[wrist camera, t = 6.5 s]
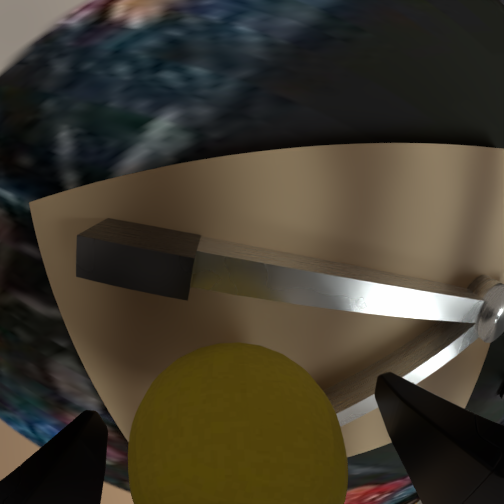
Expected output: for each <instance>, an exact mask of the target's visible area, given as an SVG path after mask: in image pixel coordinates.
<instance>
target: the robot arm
mask: <svg viewBox="0 0 504 504" xmlns="http://www.w3.org/2000/svg"><path fill="white" fill-rule="evenodd" d="M500 397H501V398H502V399H503V398H504V387H503V389H502V391H501V393H500ZM375 399H376V402H377V405H378V408H379V410H380V413H381V416H382V418H383V421H384V424H385V427H386V430H387V432H388V435H389V437H390V439H391V441H392V443H393V445H394V447H395V449H396V451H397V453H398V455H399V457H400V459H401V461H402V463H403V465H404V467H405V469H406V471H407V473H408V475H409V477H410V479H411V481H412V483H413V485H414V488H415V490H416V492H417V494H418V496H419V498H420V500H421V502H422V504H504V426H503V425H500V424H498V423H495V422H493V421H490V420H488V419H486V418H483V417H481V416H479V415H477V414H475V415H474V413H473V412H470V411H468V410H466V409H464V408H462V407H460V406H458V405H456V404H454V403H452V402H450V401H448V400H446V399H444V398H441V397H439V396H437V395H435V394H433V393H431V392H429V391H427V390H425V389H423V388H421V387H420V386H418V385H416V384H414V383H412V382H410V381H408V380H406V379H404V378H402V377H400V376H398V375H396V374H394V373H392V372H386V373H383V374H380V375H378V377H377V381H376V387H375ZM107 438H108V429H107V426H106V425H105V423H104V422H103V420H102V418H101V417H100V415H99V414H98V412H96V411H92V410H85V411H84V412H82V413H81V414H80V415H79V416H78V417H77V418H75V419H74V420H73V421H72V422H71V423H70V424H68V425H67V426H66V427H65V428H64V429H62V430H61V431H60V432H59V433H58V434H57V435H55V436H54V437H53V438H52V439H51V440H50V441H48V442H47V443H46V444H45V445H44V446H42V447H41V448H40V449H39V450H38V451H37V452H35V453H34V454H33V455H32V456H31V457H30V458H28V459H27V460H26V461H25V462H23V463H22V465H21V466H19V467H18V468H16V469H15V470H14V471H13V472H11V473H10V474H9V475H8V476H6V477H5V478H4V479H2V480H1V481H0V504H100V501H101V495H102V488H103V481H104V475H105V467H106V452H107Z"/></svg>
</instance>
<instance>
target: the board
mask: <svg viewBox="0 0 504 504" xmlns="http://www.w3.org/2000/svg"><path fill="white" fill-rule="evenodd" d="M29 205H30V210H31V215H32V220H33V224H34V229H35V233H36V237H37V241H38V245H39V248H40V252H41V256H42V259H43V263H44V266H45V269H46V272H47V276H48V279H49V282H50V285H51V288H52V291H53V294H54V296H55V299H56V302H57V305H58V307H59V310H60V313H61V315H62V318H63V320H64V323H65V325H66V328H67V330H68V332H69V335H70V337H71V339H72V341H73V344H74V346H75V348H76V350H77V352H78V355H79V357H80V359H81V361H82V363H83V365H84V367H85V369H86V371H87V373H88V375H89V377H90V379H91V381H92V383H93V384H94V386H95V388H96V390H97V392H98V394H99V395H100V397H101V399H102V401H103V402H104V404H105V406H106V408H107V409H108V411H109V413H110V414H111V416H112V417H113V419H114V421H115V422H116V424H117V425H118V427H119V429H120V430H121V432H122V433H123V435H124V436H125V438H126V439H127V441H128V442H129V436H130V431H131V426H132V422H133V419H134V416H135V414H136V411H137V409H138V407H139V405H140V403H141V401H142V399H143V398H144V396H145V394H146V392H147V390H148V389H149V387H150V386H151V384H152V382H153V381H154V380H155V379H156V377H157V376H158V375H159V374H160V373H162V372H163V371H164V370H165V369H166V368H167V367H168V366H170V365H171V364H172V363H173V362H174V361H175V360H177V359H178V358H180V357H182V356H184V355H186V354H188V353H190V352H192V351H194V350H196V349H198V348H201V347H205V346H210V345H214V344H218V343H237V342H240V343H247V344H254V345H260V346H263V347H266V348H268V349H271V350H274V351H277V352H279V353H281V354H283V355H285V356H286V357H288V358H289V359H291V360H292V361H294V362H295V363H297V364H298V365H300V366H301V367H302V368H304V369H305V370H306V371H307V372H308V373H309V374H310V375H311V377H312V378H313V379H314V380H315V381H316V383H317V384H318V385H319V386H320V388H321V389H322V390H325V389H327V388H329V387H331V386H333V385H335V384H337V383H339V382H341V381H343V380H345V379H347V378H349V377H351V376H352V375H354V374H356V373H358V372H360V371H362V370H363V369H365V368H367V367H369V366H370V365H372V364H374V363H376V362H377V361H379V360H381V359H382V358H384V357H386V356H387V355H389V354H391V353H392V352H394V351H395V350H397V349H399V348H400V347H402V346H403V345H405V344H406V343H408V342H410V341H411V340H413V339H414V338H416V337H417V336H419V335H420V334H421V333H423V332H424V331H426V330H427V329H429V328H430V327H432V326H433V325H434V324H436V323H437V322H439V321H440V320H428V319H417V318H406V317H396V316H387V315H377V314H368V313H360V312H351V311H343V310H335V309H327V308H320V307H312V306H305V305H298V304H291V303H284V302H278V301H271V300H264V299H258V298H252V297H246V296H240V295H233V294H228V293H222V292H216V291H210V290H205V289H199V288H194V287H191V289H190V293H189V297H188V301H186V300H181V299H175V298H170V297H165V296H160V295H155V294H150V293H145V292H140V291H136V290H131V289H126V288H122V287H117V286H113V285H108V284H104V283H100V282H95V281H91V280H87V279H83V278H79V277H76V244H77V235H78V234H80V233H82V232H83V231H85V230H87V229H89V228H91V227H92V226H94V225H96V224H98V223H100V222H101V221H103V220H105V219H107V218H112V219H117V220H123V221H128V222H134V223H139V224H145V225H150V226H155V227H161V228H166V229H172V230H177V231H183V232H188V233H193V234H199V235H201V236H202V237H207V238H213V239H218V240H223V241H229V242H234V243H239V244H245V245H250V246H255V247H260V248H266V249H271V250H276V251H281V252H287V253H292V254H297V255H302V256H308V257H313V258H318V259H323V260H328V261H334V262H339V263H344V264H349V265H354V266H359V267H364V268H369V269H375V270H380V271H385V272H390V273H395V274H400V275H405V276H410V277H415V278H420V279H425V280H430V281H435V282H440V283H445V284H450V285H455V286H460V287H465V288H467V287H468V286H469V284H470V283H471V282H472V281H473V280H474V279H475V278H477V277H478V276H480V275H488V276H490V277H491V278H493V279H495V280H497V281H498V282H500V283H502V284H504V149H500V148H490V147H480V146H467V145H452V144H428V143H365V144H340V145H323V146H309V147H297V148H286V149H276V150H267V151H259V152H251V153H243V154H235V155H228V156H222V157H215V158H209V159H203V160H197V161H191V162H185V163H180V164H175V165H170V166H164V167H160V168H155V169H150V170H145V171H141V172H136V173H132V174H128V175H123V176H119V177H115V178H111V179H107V180H103V181H99V182H95V183H92V184H88V185H84V186H81V187H77V188H74V189H70V190H67V191H63V192H60V193H57V194H54V195H50V196H47V197H44V198H41V199H38V200H35V201H32V202H29ZM490 343H491V342H490ZM490 343H486V342H484V341H483V340H482V339H481V338H477V339H476V340H475V341H474V342H473V343H471V344H470V345H469V346H468V347H467V348H465V349H464V350H463V351H462V352H460V353H459V354H458V355H456V356H455V357H454V358H453V359H451V360H450V361H449V362H447V363H446V364H445V365H443V366H442V367H440V368H439V369H438V370H436V371H435V372H433V373H432V374H431V375H429V376H428V377H426V378H425V379H423V380H422V381H420V382H419V383H417V384H416V385H418V386H420V387H421V388H423V389H425V390H427V391H429V392H431V393H433V394H435V395H437V396H439V397H441V398H444V399H446V400H448V401H450V402H452V403H454V404H456V405H458V406H460V407H462V408H465V407H466V405H467V403H468V400H469V398H470V396H471V394H472V391H473V389H474V387H475V384H476V382H477V379H478V377H479V374H480V371H481V369H482V366H483V363H484V361H485V358H486V355H487V352H488V349H489V346H490ZM341 431H342V435H343V439H344V443H345V448H346V454H347V457H350V456H354V455H357V454H360V453H363V452H366V451H369V450H372V449H375V448H378V447H381V446H383V445H386V444H389V443H391V442H392V441H391V439H390V437H389V435H388V432H387V430H386V427H385V424H384V421H383V418H382V416H381V413H380V410H379V408H376V409H374V410H372V411H371V412H369V413H367V414H365V415H363V416H361V417H359V418H357V419H355V420H353V421H351V422H349V423H347V424H345V425H343V426H341Z"/></svg>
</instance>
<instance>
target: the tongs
mask: <svg viewBox="0 0 504 504" xmlns="http://www.w3.org/2000/svg"><path fill="white" fill-rule="evenodd" d="M76 277H79V278H83V279H87V280H91V281H95V282H100V283H104V284H108V285H113V286H117V287H122V288H126V289H131V290H136V291H140V292H145V293H150V294H155V295H160V296H165V297H170V298H175V299H181V300H186V301H188V297H189V293H190V289H191V287H194V288H199V289H205V290H210V291H216V292H222V293H228V294H233V295H240V296H246V297H252V298H258V299H264V300H271V301H278V302H284V303H291V304H298V305H305V306H312V307H320V308H327V309H335V310H343V311H351V312H360V313H368V314H377V315H387V316H396V317H406V318H417V319H428V320H440V321H439V322H437V323H436V324H434V325H433V326H432V327H430V328H429V329H427V330H426V331H424V332H423V333H421V334H420V335H419V336H417V337H416V338H414V339H413V340H411V341H410V342H408V343H406V344H405V345H403V346H402V347H400V348H399V349H397V350H395V351H394V352H392V353H391V354H389V355H387V356H386V357H384V358H382V359H381V360H379V361H377V362H376V363H374V364H372V365H370V366H369V367H367V368H365V369H363V370H362V371H360V372H358V373H356V374H354V375H352V376H351V377H349V378H347V379H345V380H343V381H341V382H339V383H337V384H335V385H333V386H331V387H329V388H327V389H325V390H323V392H324V393H325V394H326V396H327V397H328V399H329V401H330V402H331V404H332V406H333V408H334V410H335V413H336V415H337V418H338V421H339V424H340V427H341V426H343V425H345V424H347V423H349V422H351V421H353V420H355V419H357V418H359V417H361V416H363V415H365V414H367V413H369V412H371V411H372V410H374V409H376V408H378V405H377V402H376V399H375V387H376V381H377V377H378V375H380V374H383V373H386V372H392V373H394V374H396V375H398V376H400V377H402V378H404V379H406V380H408V381H410V382H412V383H414V384H417V383H419V382H420V381H422V380H423V379H425V378H426V377H428V376H429V375H431V374H432V373H433V372H435V371H436V370H438V369H439V368H440V367H442V366H443V365H445V364H446V363H447V362H449V361H450V360H451V359H453V358H454V357H455V356H456V355H458V354H459V353H460V352H462V351H463V350H464V349H465V348H467V347H468V346H469V345H470V344H471V343H473V342H474V341H475V340H476V339H477V338H481V339H482V340H483V341H484V342H486V343H490V342H493V341H494V340H496V339H497V338H498V337H499V336H500V335H501V334H502V333H503V332H504V284H502V283H500V282H498V281H497V280H495V279H493V278H491V277H490V276H488V275H480V276H478V277H477V278H475V279H474V280H473V281H472V282H471V283H470V284H469V286H468V287H467V288H465V287H460V286H455V285H450V284H445V283H440V282H435V281H430V280H425V279H420V278H415V277H410V276H405V275H400V274H395V273H390V272H385V271H380V270H375V269H369V268H364V267H359V266H354V265H349V264H344V263H339V262H334V261H328V260H323V259H318V258H313V257H308V256H302V255H297V254H292V253H287V252H281V251H276V250H271V249H266V248H260V247H255V246H250V245H245V244H239V243H234V242H229V241H223V240H218V239H213V238H207V237H202V236H201V235H199V234H193V233H188V232H183V231H177V230H172V229H166V228H161V227H155V226H150V225H145V224H139V223H134V222H128V221H123V220H117V219H112V218H107V219H105V220H103V221H101V222H100V223H98V224H96V225H94V226H92V227H91V228H89V229H87V230H85V231H83V232H82V233H80V234H78V235H77V244H76Z"/></svg>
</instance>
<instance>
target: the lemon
mask: <svg viewBox="0 0 504 504" xmlns="http://www.w3.org/2000/svg"><path fill="white" fill-rule="evenodd" d="M128 472H129V484H130V490H131V496H132V499H133V502H134V504H344V502H345V497H346V492H347V484H348V463H347V454H346V448H345V443H344V439H343V435H342V431H341V427H340V424H339V421H338V418H337V415H336V413H335V410H334V408H333V406H332V404H331V402H330V401H329V399H328V397H327V396H326V394H325V393H324V392H323V390H322V389H321V388H320V386H319V385H318V384H317V383H316V381H315V380H314V379H313V378H312V377H311V375H310V374H309V373H308V372H307V371H306V370H305V369H304V368H302V367H301V366H300V365H298V364H297V363H295V362H294V361H292V360H291V359H289V358H288V357H286V356H285V355H283V354H281V353H279V352H277V351H274V350H271V349H268V348H266V347H263V346H260V345H254V344H247V343H240V342H237V343H218V344H214V345H210V346H205V347H201V348H198V349H196V350H194V351H192V352H190V353H188V354H186V355H184V356H182V357H180V358H178V359H177V360H175V361H174V362H173V363H172V364H171V365H170V366H168V367H167V368H166V369H165V370H164V371H163V372H162V373H160V374H159V375H158V376H157V377H156V379H155V380H154V381H153V382H152V384H151V386H150V387H149V389H148V390H147V392H146V394H145V396H144V398H143V399H142V401H141V403H140V405H139V407H138V409H137V411H136V414H135V416H134V419H133V422H132V426H131V431H130V436H129V445H128Z"/></svg>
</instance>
